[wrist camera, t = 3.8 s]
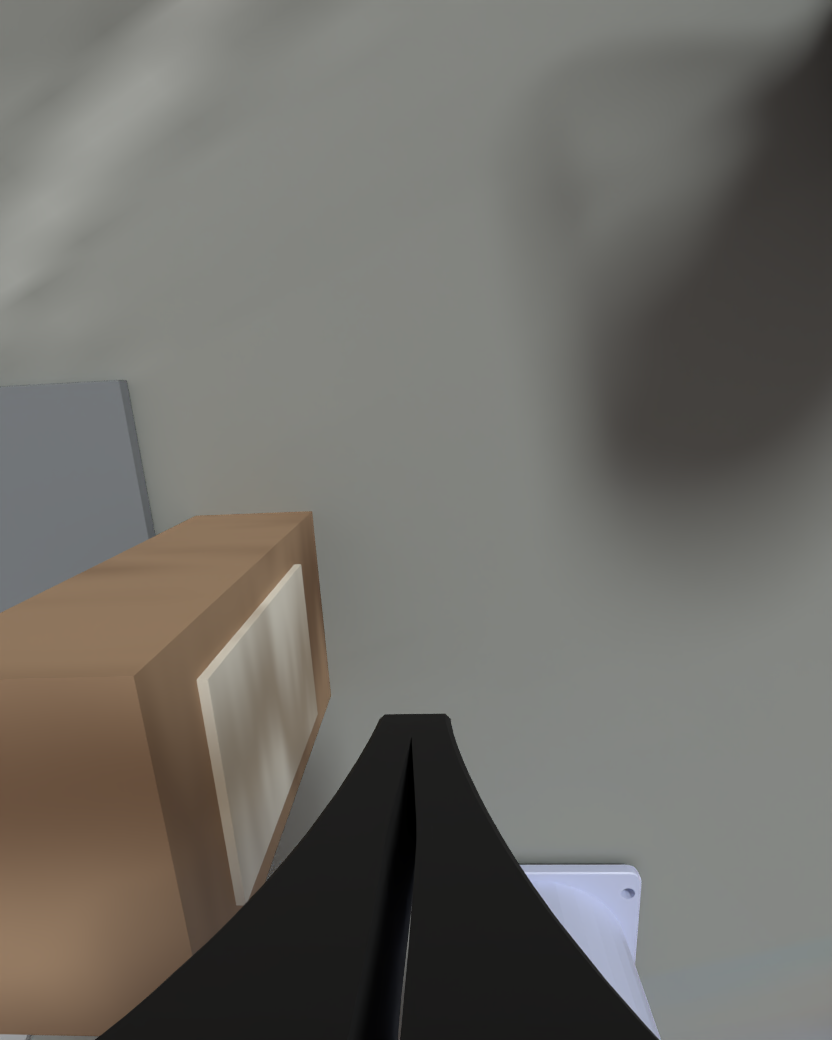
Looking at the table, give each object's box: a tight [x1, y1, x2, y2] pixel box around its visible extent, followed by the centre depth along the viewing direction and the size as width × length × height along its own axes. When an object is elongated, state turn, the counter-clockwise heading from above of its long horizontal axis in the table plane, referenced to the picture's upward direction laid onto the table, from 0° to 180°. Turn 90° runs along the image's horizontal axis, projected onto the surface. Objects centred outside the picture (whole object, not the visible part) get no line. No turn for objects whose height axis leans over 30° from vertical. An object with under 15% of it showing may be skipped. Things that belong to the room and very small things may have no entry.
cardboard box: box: [0, 511, 331, 1036], centre depth 13 cm, size 7×4×10 cm, turn 3°
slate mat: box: [0, 380, 155, 613], centre depth 18 cm, size 16×10×1 cm, turn 3°
